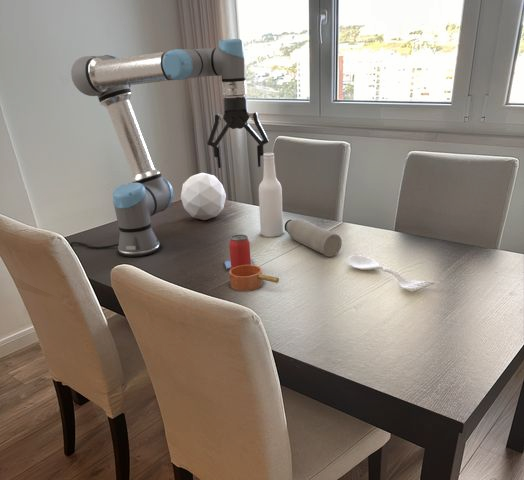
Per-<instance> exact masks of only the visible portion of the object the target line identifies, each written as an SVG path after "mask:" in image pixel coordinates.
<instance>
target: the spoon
mask: <svg viewBox="0 0 524 480" xmlns="http://www.w3.org/2000/svg"><path fill="white" fill-rule="evenodd" d="M346 262H347V264H348V265H349V266H350V267H352V268H354V269H357V270H362V271H371V270H381V271H382V272H384V273H389V274H391V275H393V276H394V277H395V278H396V279H397V282H398V284H399V287H400V288H402V289H404V290H406V291H408V292H414V291H419V290H422V289H423V288H427V287H429V286H431V285H432V286H433V285H435V281H434V280H425V281H422V280H411V279H410V280H409V279H406V278H404V277H403V276H401V275H400V274H399V273H398V272H397V271H395V270H393V269H392V268H391V267H389V266H385V265H381V264H380V263H379V262H377V261H376V260H375V259H373V258H371V257H368V256H366V255H361V254H353V255H350V256H348V257H347V259H346Z"/></svg>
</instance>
